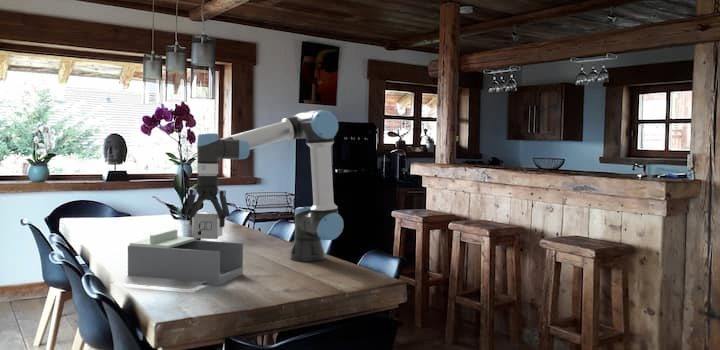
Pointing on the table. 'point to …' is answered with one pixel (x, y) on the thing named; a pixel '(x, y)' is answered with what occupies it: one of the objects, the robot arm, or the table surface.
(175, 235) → the cover
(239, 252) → the housing
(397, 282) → the table surface
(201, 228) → the electrical switch
